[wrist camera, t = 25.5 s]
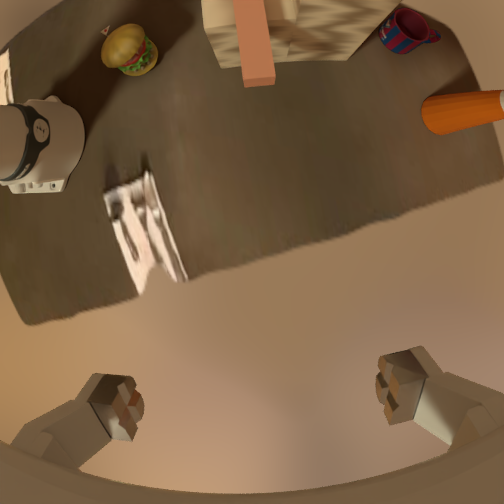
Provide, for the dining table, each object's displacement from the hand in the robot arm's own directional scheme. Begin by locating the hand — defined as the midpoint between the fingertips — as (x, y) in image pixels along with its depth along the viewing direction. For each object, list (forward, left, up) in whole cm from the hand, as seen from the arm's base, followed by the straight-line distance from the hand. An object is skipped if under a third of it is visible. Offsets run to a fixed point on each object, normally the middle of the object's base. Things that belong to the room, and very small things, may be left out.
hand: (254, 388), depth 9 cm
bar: (+2, +24, -24) cm, 34 cm away
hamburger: (-16, +28, -39) cm, 51 cm away
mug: (+29, +28, -39) cm, 56 cm away
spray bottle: (+33, +12, -39) cm, 53 cm away
